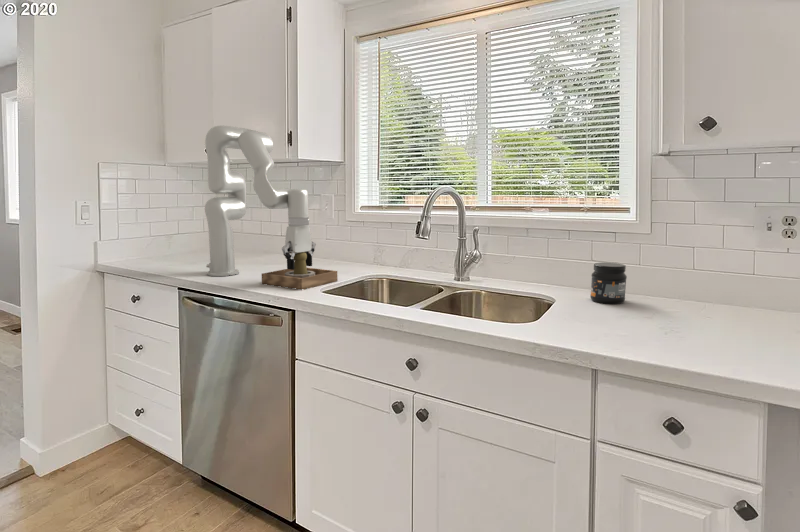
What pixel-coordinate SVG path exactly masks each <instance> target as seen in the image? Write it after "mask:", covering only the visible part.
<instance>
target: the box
mask: <svg viewBox="0 0 800 532" xmlns="http://www.w3.org/2000/svg"><path fill="white" fill-rule="evenodd" d="M293 272H294V270H290V269H287V268H283V269H278V270H274V271H269V272H263V273H261V285H264V284H267V285H266V286H271V285H274V286H273V287H278V286H281V287H280V288H285V287H288V288H287V289H292V288H296V289H295V290H298V289H304V290H307V289H306V288H308V289H311V288H316V287H319V286H320V287H321V286H324V285H327V284H332V283H335V282H336V283H337V282H338V270H333V269H331V270H330V269H322V268H316V267H315V268H313V267H307V273H308V274H303V275H294V274H293Z"/></svg>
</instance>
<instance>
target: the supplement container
mask: <svg viewBox="0 0 800 532" xmlns="http://www.w3.org/2000/svg"><path fill="white" fill-rule="evenodd" d="M626 268H627V266H626V265H625V264H623V263H618V262H595V263H594V264H593V272H592V273H591V286H590V300H591V301H593V302H595V303H599V304H605V305H618V304H619V305H620V304H623V303H624V302H625V301H626V286H627V279H628V276H627V274H626V273H625V272H626V271H627V269H626Z"/></svg>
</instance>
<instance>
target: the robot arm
mask: <svg viewBox="0 0 800 532" xmlns="http://www.w3.org/2000/svg"><path fill="white" fill-rule="evenodd" d="M204 143H205V144H204V145H205V152H206V156H207V186H208V189H209V190H210V192H211V193H214V194H218V195H219V194H220V195H225V194H227V196H216V197H212V198H209V199H208V200H207V201H206V202H205V204H204V213H205V217H206V222H207V230H208V240H209V241H208V242H209V243H208V245H209V263H208V264H206V265H205V266H206V268H208V269H209V270H207V272H206V275H207V276H209V277H210V276H211V277H226V276H227V277H229V275H230V276H235V274H236V275H238V274H239V273H240V270H239V269H236V263H235V262H236V261H235V260H236V259H235V245H234V244H235V243H234V242H235V241H234V240H235V239H234V238H235V237H234V230H233V226H232V224H231V223H230V221H235V220H240V219H242V218H243V217H245V215H246V212H247V182H246V178H245V176H244V175H243V173H242V172H240V171H238V170H231V161H230V156H229V154H228V153H227V152H228V151H227V150H226V149H232V150H233V149H234V150H241V152H242V154H243V156H244V157H245V159H246V161H247V163H248V164H249V166H250V168H251V169H252V171H253V176H252V186H253V189H254V192H255V194H256V196H257V198H258V199H259V201H260V202H261V204H262V205H263V206H264V207H265V208H267V209H271V210H274V209H287V217H288V218H287V219H288V220H287V221H288V222H287V224H288V226H286V231H285V243H284V246H282V247H281V251H282V253H283V256H284V258H285V259H286V269H290V270H294V269H295V265H294V262H295V260H294V259H293V257H294V255H295V253H303V252H305V253H306V254H307V259H306V267H313V255H314V253H315V250H316V245H317V244H316V242H313V241H312V233H311V226H310V218H309V217H310V216H309V214H310V213H309V212H310V211H309V192H308V189H304V188H288V187H287V188H285V187H284V188H283V187H280V188H278V187H276V188H275V187H273V186H272V184H271V182H270V181H269V179H268V176H267V173H269V172H270V171H271V170H273V168H274V166H275V162H274V160H273V158H272V156H271V154H270V153H271V152H272V151H273V148H274V141H273V138H272V137H271V136H270V135H269V134H268V133H266V132H261V131H256V130H252V129H249V128H245V127H237V126H231V125H216V126H212V127H211V128H210V129H209V130H208V131H207V133H206V134H205V140H204Z"/></svg>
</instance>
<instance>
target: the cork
mask: <svg viewBox="0 0 800 532" xmlns="http://www.w3.org/2000/svg"><path fill="white" fill-rule="evenodd" d="M293 259H294V265H295V269H294V272H293V274H294V275H303V274H308V273H307V268H308V266H306V259H307V254H306V253H305V252H303V253H295V255H294V257H293Z"/></svg>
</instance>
